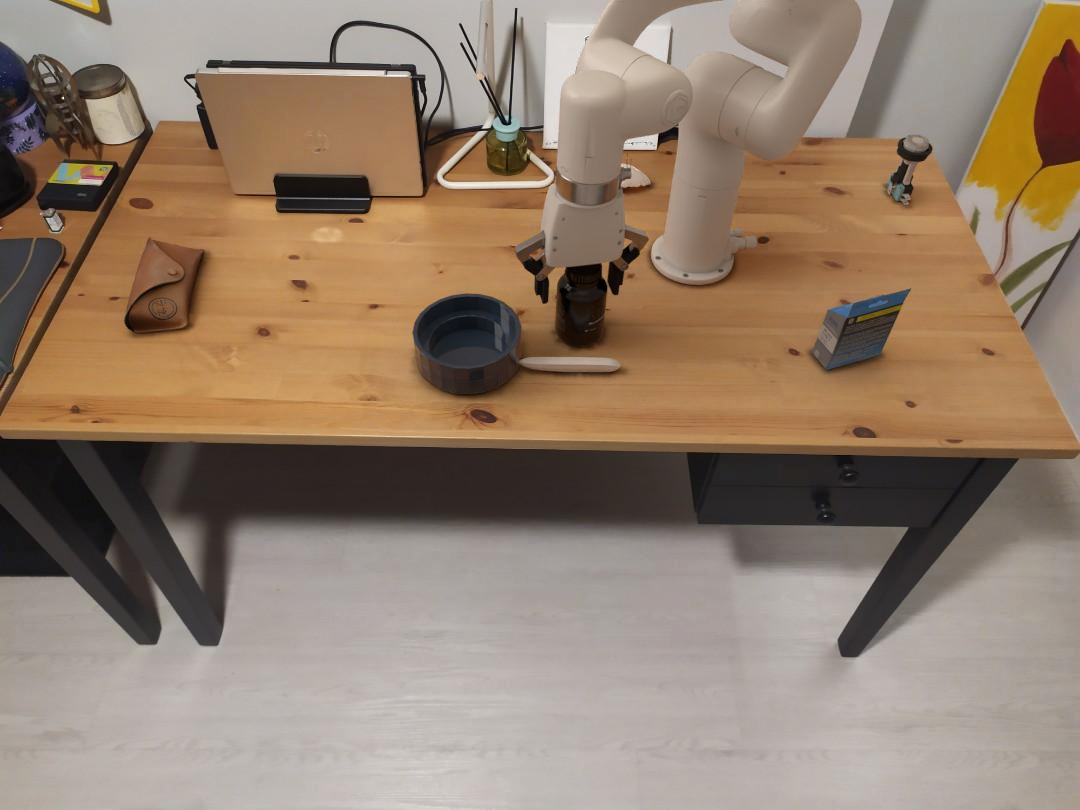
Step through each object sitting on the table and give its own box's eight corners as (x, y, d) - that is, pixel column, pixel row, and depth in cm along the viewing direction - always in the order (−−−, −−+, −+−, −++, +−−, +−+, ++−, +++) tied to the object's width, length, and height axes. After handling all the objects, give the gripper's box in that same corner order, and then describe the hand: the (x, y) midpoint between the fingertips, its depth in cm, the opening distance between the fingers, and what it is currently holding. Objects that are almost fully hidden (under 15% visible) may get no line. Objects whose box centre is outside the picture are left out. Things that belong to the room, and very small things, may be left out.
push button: (920, 206, 135) (943, 153, 127) (889, 207, 135) (911, 154, 127) (905, 183, 139) (927, 130, 132) (875, 185, 139) (895, 131, 131)
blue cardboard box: (864, 337, 114) (894, 269, 105) (881, 356, 112) (913, 287, 102) (810, 352, 112) (835, 284, 103) (826, 372, 110) (853, 303, 100)
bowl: (510, 316, 116) (509, 287, 112) (531, 388, 107) (531, 359, 103) (411, 330, 114) (407, 301, 110) (424, 404, 105) (419, 375, 101)
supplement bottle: (599, 352, 112) (605, 285, 103) (550, 344, 113) (552, 277, 104) (606, 318, 116) (613, 252, 107) (559, 312, 117) (562, 245, 108)
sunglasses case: (191, 326, 113) (151, 297, 109) (155, 348, 116) (114, 321, 111) (206, 246, 125) (171, 217, 120) (173, 268, 127) (137, 240, 123)
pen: (516, 364, 110) (516, 355, 109) (619, 365, 110) (621, 356, 109) (516, 372, 109) (516, 363, 108) (620, 373, 109) (621, 364, 108)
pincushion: (579, 192, 136) (581, 163, 132) (580, 172, 140) (581, 143, 136) (650, 195, 136) (654, 166, 132) (649, 175, 140) (653, 145, 136)
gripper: (647, 157, 100) (631, 268, 112) (509, 170, 97) (509, 282, 109) (667, 191, 95) (648, 303, 107) (522, 206, 92) (520, 319, 104)
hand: (578, 292), depth 108 cm, fingers open, 9 cm apart
